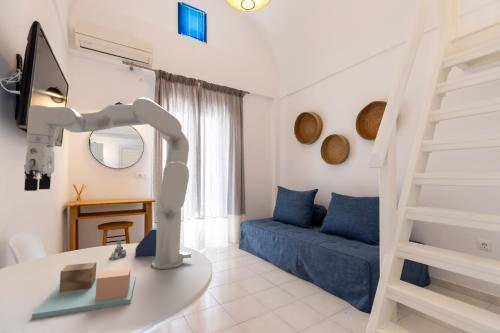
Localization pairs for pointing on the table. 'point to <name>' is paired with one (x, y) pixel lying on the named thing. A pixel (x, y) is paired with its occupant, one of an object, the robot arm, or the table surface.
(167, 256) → the robot arm
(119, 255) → the miniature building cluster
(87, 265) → the walnut brick
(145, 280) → the table surface
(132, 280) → the board
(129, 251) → the table surface
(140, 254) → the blue angular block
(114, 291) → the terracotta brick
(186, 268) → the table surface
